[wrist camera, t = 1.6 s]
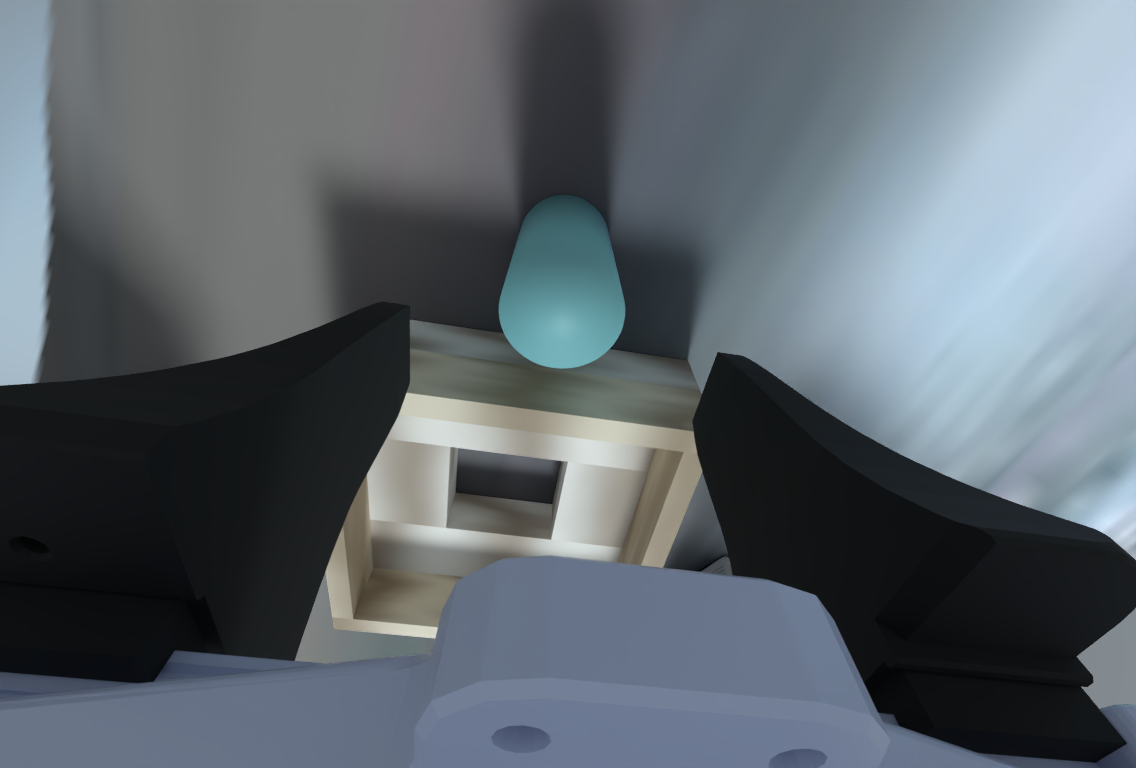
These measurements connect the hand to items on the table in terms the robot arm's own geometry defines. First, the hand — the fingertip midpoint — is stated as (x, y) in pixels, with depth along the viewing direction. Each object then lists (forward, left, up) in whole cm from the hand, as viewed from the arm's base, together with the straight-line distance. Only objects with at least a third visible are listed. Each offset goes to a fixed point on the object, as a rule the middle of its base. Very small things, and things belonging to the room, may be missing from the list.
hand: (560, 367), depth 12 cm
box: (-1, -12, -10) cm, 16 cm away
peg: (0, 0, -10) cm, 10 cm away
